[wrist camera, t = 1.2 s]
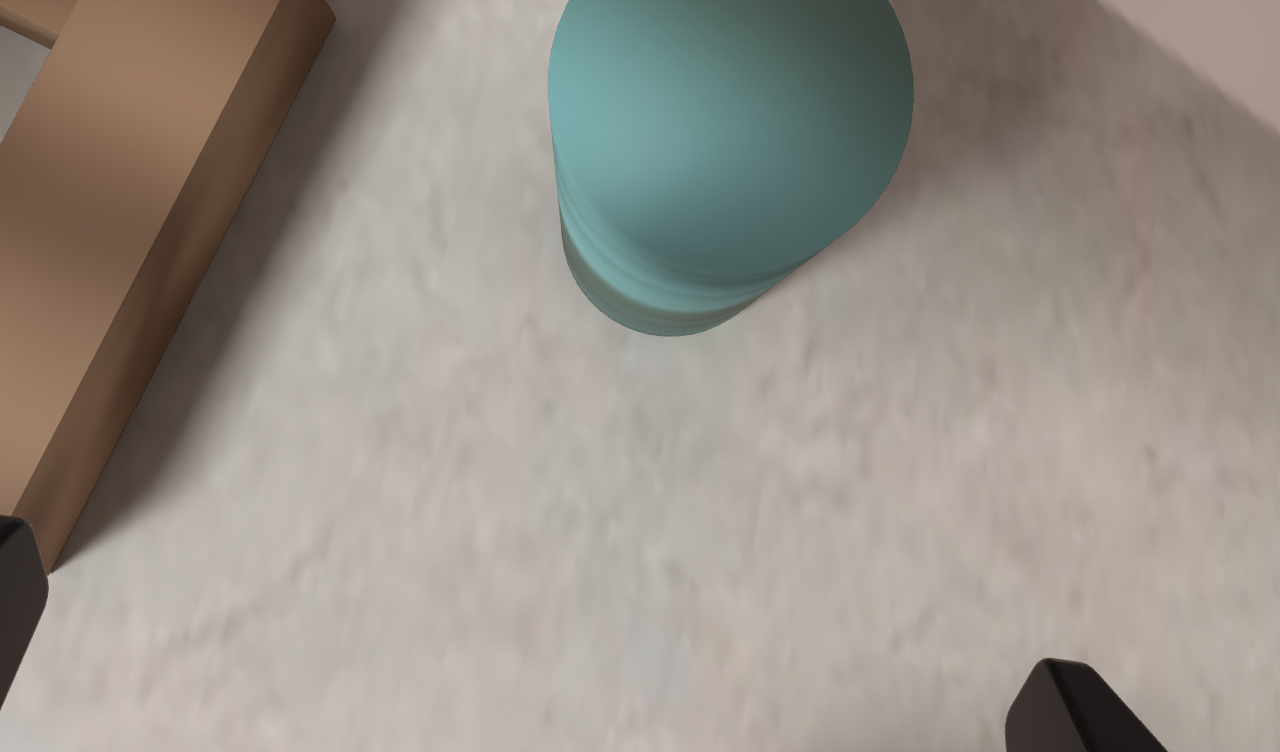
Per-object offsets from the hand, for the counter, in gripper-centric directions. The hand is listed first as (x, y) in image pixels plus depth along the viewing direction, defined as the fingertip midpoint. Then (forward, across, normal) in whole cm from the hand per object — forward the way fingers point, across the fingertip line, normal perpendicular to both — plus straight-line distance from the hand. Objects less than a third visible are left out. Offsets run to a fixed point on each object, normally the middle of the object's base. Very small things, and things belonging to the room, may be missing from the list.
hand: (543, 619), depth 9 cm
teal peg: (+15, -2, +4) cm, 16 cm away
